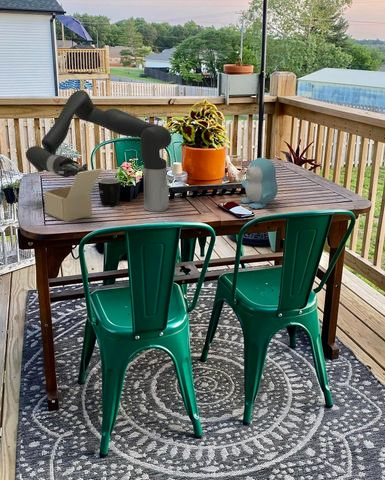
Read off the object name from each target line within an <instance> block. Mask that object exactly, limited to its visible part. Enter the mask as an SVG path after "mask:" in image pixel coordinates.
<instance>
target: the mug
mask: <svg viewBox="0 0 385 480" xmlns="http://www.w3.org/2000/svg"><path fill="white" fill-rule="evenodd" d="M97 183H98V193H99V199H100V201H101V204H102V205H103V206H104V207H115V206H117V205H118V204H119V202H120V196H121V180H120V179H118V178H114V177H110V178H109V177H108V178H107V177H105V178H101V179H98V180H97Z"/></svg>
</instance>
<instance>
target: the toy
mask: <svg viewBox="0 0 385 480" xmlns="http://www.w3.org/2000/svg"><path fill="white" fill-rule="evenodd" d="M276 170H277V169H276V167H275V164H274V163H273V162H272V161H271V160H270V159H268V158H266V157H258V158H255V159H253V160H252V161H251V162H249V165H248V166H247V167H246V169H245V175H246V176H245V177H246V179H242V180H241V185H242V187H243V188H244V189H245V193H246V196H247V197H243V198H241V199H240V202H241V204H245V203H247V204H248V208H250V207H251V208H250V209H252V208H255V209H254V210H259V209H258V208H261V209H262V208H263V207H264V208H265V207H266V206H267V205H268V203H271V202H273V201H274V199H275V198H276V196H277V194H278V184H277V177H276V176H277V174H276V173H277V172H276Z"/></svg>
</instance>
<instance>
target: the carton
mask: <svg viewBox="0 0 385 480" xmlns="http://www.w3.org/2000/svg"><path fill="white" fill-rule="evenodd" d="M71 187H72V185H69V186H64V187H63V186H62V187H58V188H52V189H48V190H45V191H43V196H44V208H45V209H44V210H45V214H46V215H49V216H51V217H54V218H56V219H58V220H61V221H63V222H70V221H73V220H78V219H81V218H82V219H83V218H85V217H89V216H92V215H93V210H92V209H93V207H92V205H93V204H92V193H91V194H88V195H84V196H79V197H75V198H70V199H67V196H68V194H69V192H70V190H71Z"/></svg>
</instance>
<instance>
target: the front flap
mask: <svg viewBox="0 0 385 480" xmlns="http://www.w3.org/2000/svg"><path fill="white" fill-rule="evenodd" d="M102 171H103V168H102V167H101V168H96V169H95V168H94V169H90V170H89V169H88V171H84V172H78V173H77V175H75V178H74V181H73V183H72V185H71V190H70V192H69V194H68V196H67V199H70V198H75V197H79V196H84V195H88V194H91V195H92V191H93V190H94V187H95V185H96V184H97V183H96V182H98V180H99V177H100V174H101V172H102Z"/></svg>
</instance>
